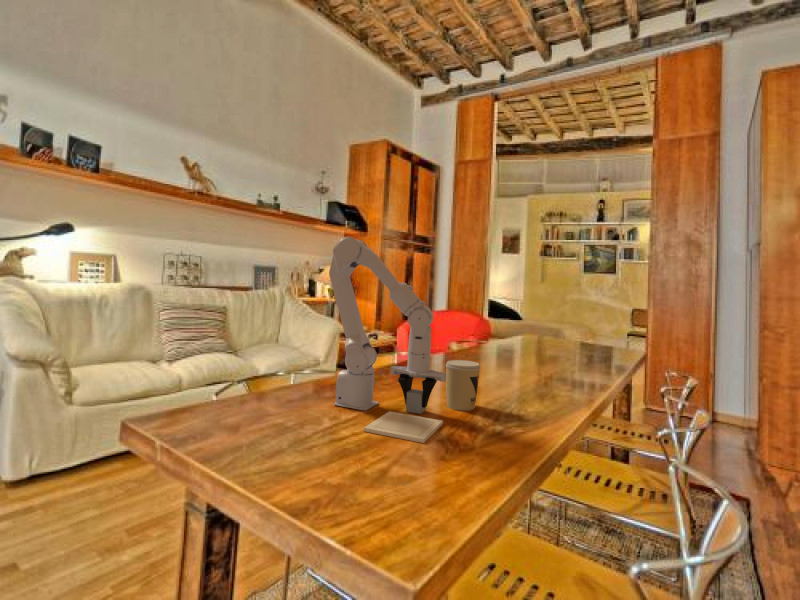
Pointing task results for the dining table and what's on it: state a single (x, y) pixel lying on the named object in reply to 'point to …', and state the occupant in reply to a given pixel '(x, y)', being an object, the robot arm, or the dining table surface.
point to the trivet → (404, 426)
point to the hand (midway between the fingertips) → (416, 405)
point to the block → (414, 401)
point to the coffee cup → (461, 384)
